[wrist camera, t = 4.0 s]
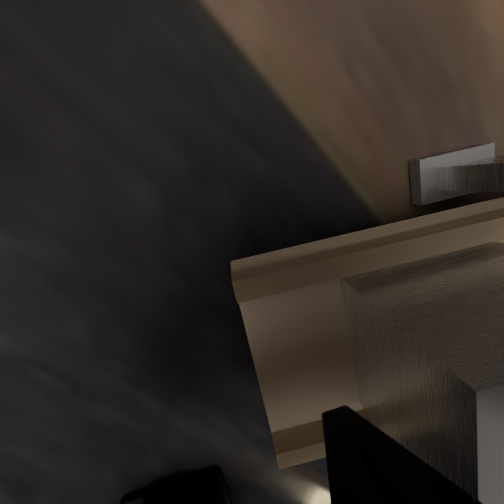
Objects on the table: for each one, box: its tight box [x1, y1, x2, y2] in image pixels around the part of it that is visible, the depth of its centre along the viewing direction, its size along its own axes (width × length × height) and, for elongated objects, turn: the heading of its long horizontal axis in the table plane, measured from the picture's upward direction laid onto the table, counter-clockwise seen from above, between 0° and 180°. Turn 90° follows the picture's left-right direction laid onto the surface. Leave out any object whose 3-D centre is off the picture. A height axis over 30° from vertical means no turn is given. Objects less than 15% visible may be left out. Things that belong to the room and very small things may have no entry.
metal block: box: [340, 241, 504, 504], centre depth 9 cm, size 6×6×6 cm
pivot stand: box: [409, 142, 504, 205], centre depth 15 cm, size 13×4×5 cm, turn 13°
